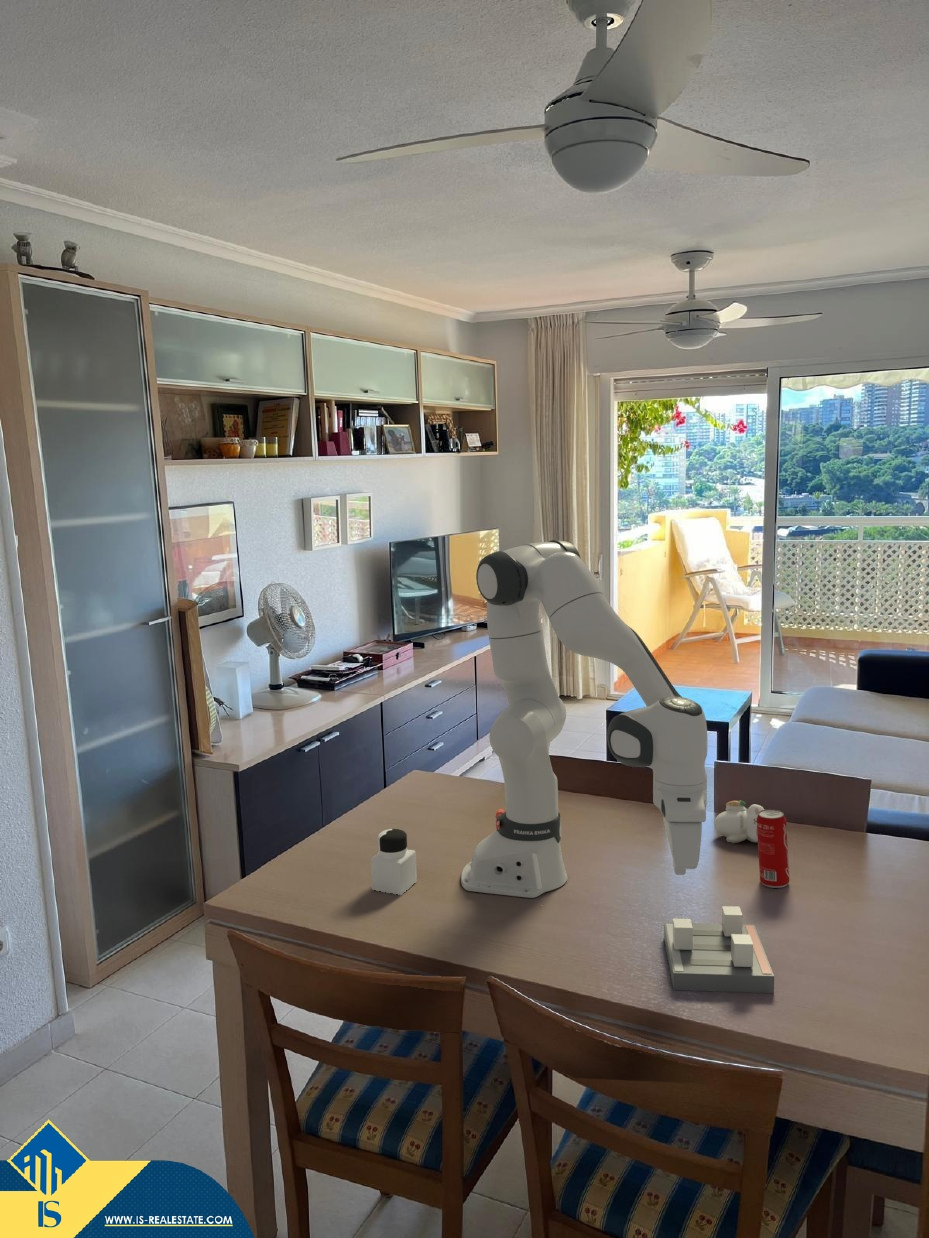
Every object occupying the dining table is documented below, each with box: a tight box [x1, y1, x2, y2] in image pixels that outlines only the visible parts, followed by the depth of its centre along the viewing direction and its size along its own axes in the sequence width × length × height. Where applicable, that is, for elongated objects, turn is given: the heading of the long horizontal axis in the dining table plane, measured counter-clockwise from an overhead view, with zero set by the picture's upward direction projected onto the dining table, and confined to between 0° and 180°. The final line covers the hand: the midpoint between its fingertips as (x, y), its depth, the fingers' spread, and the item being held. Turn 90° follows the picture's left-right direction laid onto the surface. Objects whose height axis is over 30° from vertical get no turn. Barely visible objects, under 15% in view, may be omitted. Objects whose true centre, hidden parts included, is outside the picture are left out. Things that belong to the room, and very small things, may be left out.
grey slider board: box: [663, 922, 775, 994], centre depth 157 cm, size 16×17×3 cm
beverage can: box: [757, 808, 790, 889], centre depth 186 cm, size 6×6×15 cm
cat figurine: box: [713, 800, 766, 844], centre depth 209 cm, size 10×8×15 cm
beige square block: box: [672, 918, 693, 950], centre depth 157 cm, size 3×3×4 cm
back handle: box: [721, 905, 743, 936], centre depth 161 cm, size 3×3×4 cm
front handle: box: [731, 934, 753, 967], centre depth 151 cm, size 3×3×4 cm
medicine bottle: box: [370, 828, 418, 896], centre depth 191 cm, size 7×7×12 cm
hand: (679, 871), depth 156 cm, fingers closed
